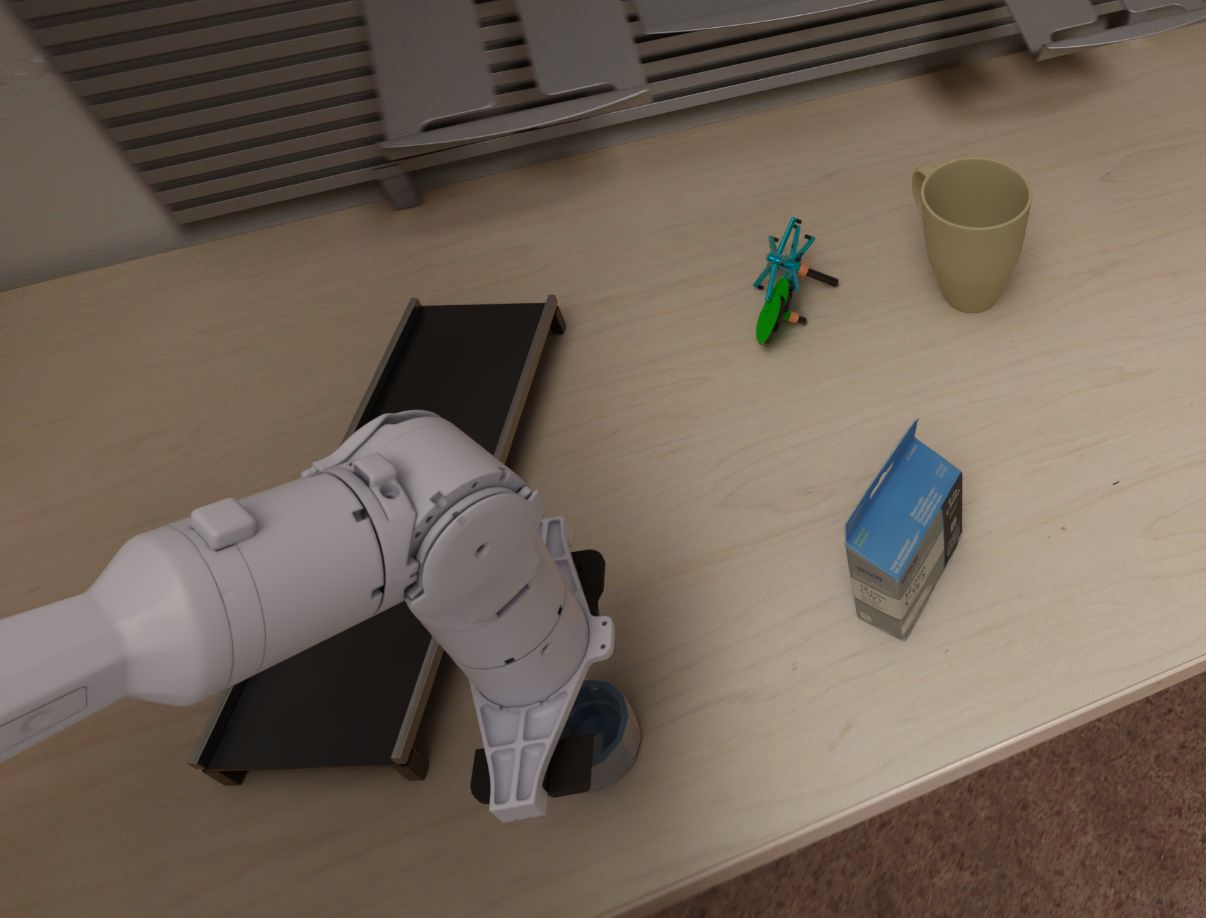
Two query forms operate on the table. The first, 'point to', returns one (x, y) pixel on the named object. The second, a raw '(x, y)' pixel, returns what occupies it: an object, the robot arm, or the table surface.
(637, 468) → the table surface
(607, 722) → the cup
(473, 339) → the conveyor belt
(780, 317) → the stick construction toy
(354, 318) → the table surface
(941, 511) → the label tape box
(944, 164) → the mug
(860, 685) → the table surface
